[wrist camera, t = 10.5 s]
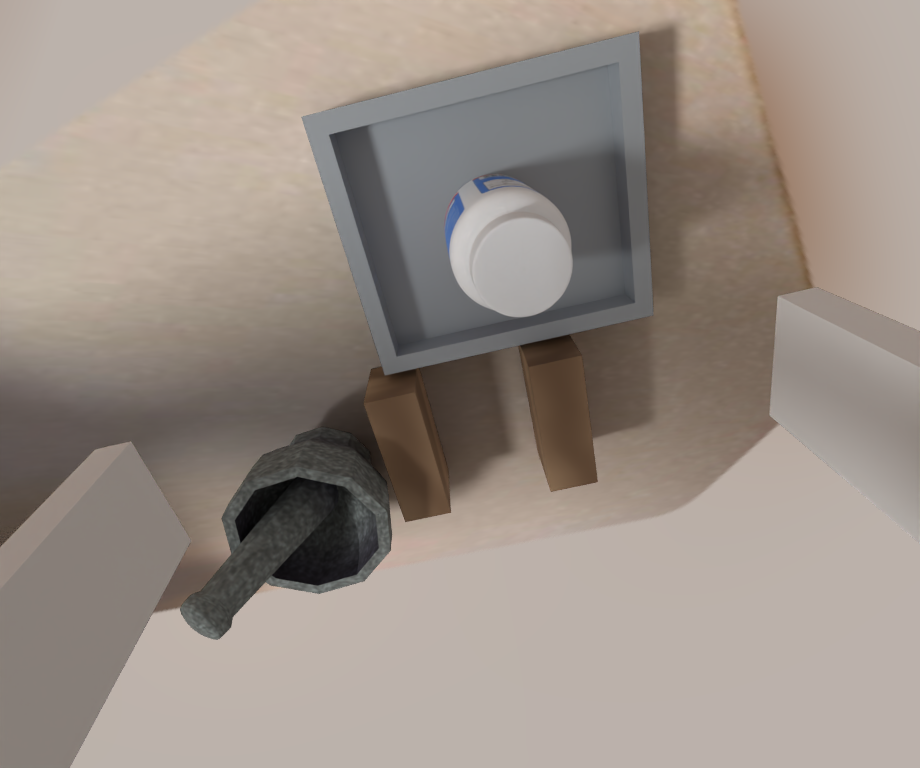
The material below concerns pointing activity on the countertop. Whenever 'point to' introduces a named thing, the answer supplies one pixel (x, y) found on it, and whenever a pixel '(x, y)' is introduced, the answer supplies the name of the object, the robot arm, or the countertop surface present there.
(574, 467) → the slot holder
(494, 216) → the pill bottle
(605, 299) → the tray
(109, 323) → the countertop surface
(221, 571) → the mortar and pestle
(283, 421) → the countertop surface
